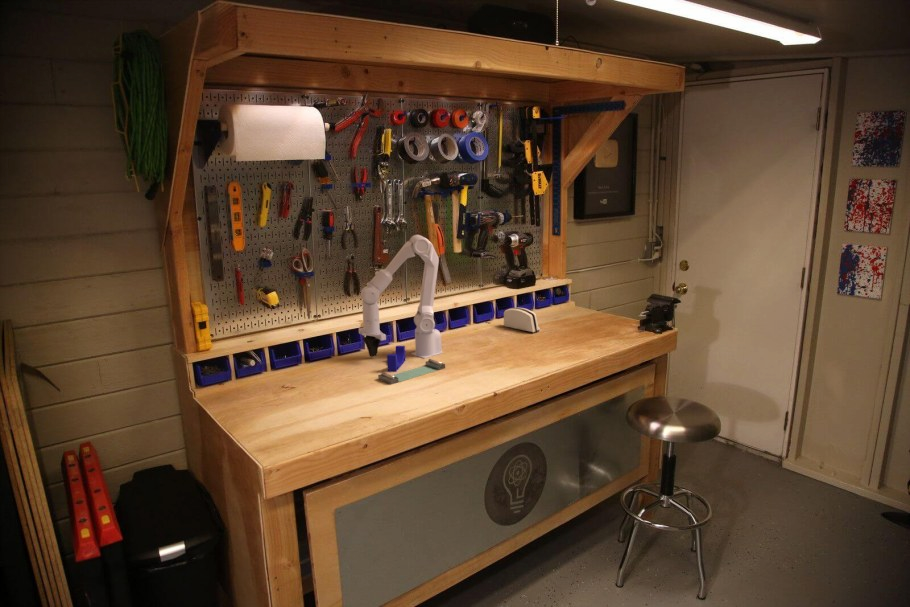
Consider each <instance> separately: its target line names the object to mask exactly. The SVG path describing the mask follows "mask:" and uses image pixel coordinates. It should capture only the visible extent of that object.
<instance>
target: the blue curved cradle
mask: <svg viewBox="0 0 910 607" xmlns="http://www.w3.org/2000/svg"><path fill="white" fill-rule="evenodd" d="M394 352H395V353H388V354H386V360H387V361H386V363H387V372H393V373H395V372H396V373H397V371H398V370H399V369H400V368H401V367H402V365H403V364H404V363H405V362H406V360H407V359H406V345H396V346H395V351H394Z"/></svg>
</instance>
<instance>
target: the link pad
mask: <svg viewBox="0 0 910 607" xmlns="http://www.w3.org/2000/svg"><path fill="white" fill-rule="evenodd" d="M437 371H438V370H436V369H434V368H431V367H428V366H426V365H423V366H419V367H415V368H413V369H410V370H406V371H402V372H399V373H396V374H391V375H392V376H395V377H397V378H398V383H399V382H400V383H401V382H404V381H407V380H410V379H414V378H417V377H421V376H424V375H426V374H430V373H434V372H437Z"/></svg>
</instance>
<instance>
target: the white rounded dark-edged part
mask: <svg viewBox="0 0 910 607" xmlns="http://www.w3.org/2000/svg"><path fill="white" fill-rule="evenodd" d="M503 326H504V327H507V328H511V329H516V330H521V331H527V332H529V333H530V332H532V333H535V332H537V333H540V332H541V328H540V327H539V324H538V319H537V314H536V313H535V312H534V311H532V310H530V309H528V308H524V307H510V308H508V309H506V310H504V312H503Z"/></svg>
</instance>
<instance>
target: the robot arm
mask: <svg viewBox="0 0 910 607" xmlns="http://www.w3.org/2000/svg"><path fill="white" fill-rule="evenodd" d="M416 254H417V255H418V256H419V257H420V258H421V260H423V262H424V266H423V272H422V273H423V274H422V275H423V276H422V282H421V291H420V297H419V298H420V299H419V305H418V307H417V311H416V313H415V315H414V317H413V323H414V325H415V326H416V327H415V329H414V340H415V342H414V344H415V345H414V346H415V347H414V348H415V351H414V352H410V354H411V355H412V356H415V357H418V358H421V359H427V358H431V357H435V356H439V355H441V354H444V351H443V350H442V349H443V348H442V335H441V332H440V330H438V329H437V328H435V327H436V322H435V319H434V317H435V316H434V315H435V314H434V313H435V312H434V301H435V293H436V286H437V285H436V284H437V277H438V269H439V263H440V262H439V261H440V260H439V259H440V258H439V256H438V254H437V252H436V250H435V247H434V245H433V243H432V242H431V241H430V240H429V239H428V238H426V237H425V236H423V235H420V234H414V235H412V236H411V237H410V238H409V240H407V241H406V242H405V243H404V244H403V246H402V247H401V248H400V249H399V250H398V252H397V253H396V255H395V256H394V257H393V259H392V260H391V261H390V262H389V263H388V265H387V266H386V267H385V268H383V269H379V270H376V271H375V273H374V274H375V275H374V276H373V277H372V279H371V280H370V281H369V282H367V283H366V286H364V287H363V288H362V289H361V291H360V292H361V293H360V298H361V300H362V324H363V327H359V328H358V334H359V335H361V336H364V337H362V340H363V342H364V344H365V346H366V349H367V351H368V354H369V357H371V358H372V357H377V354H378V349H379V346H380V343H381V341H387V334H385V333H383V332H382V331H381V330H380V312H379V311H380V310H379V305H378V304H379V302H378V301H379V299H380V294H382V293H383V292H384V291H385V290H386V289H387V287H388V286H389V285H390V284H391V283H392V281H394V280H393V279H394V278H393V275H394V274H395V273H396V272H397V271H398V269H399V268H400V267H401V266H402V264H404V263H405V261H406V260H407V259H410V258H414V257H416Z"/></svg>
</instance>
